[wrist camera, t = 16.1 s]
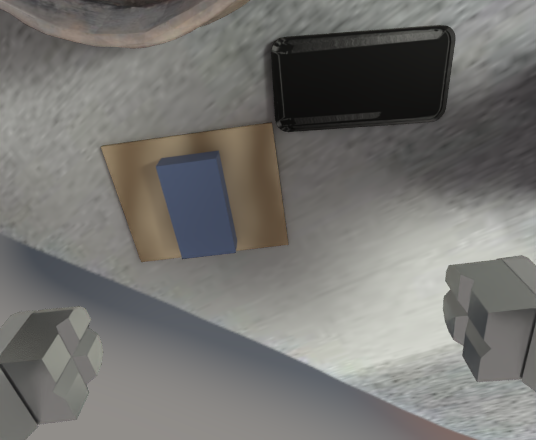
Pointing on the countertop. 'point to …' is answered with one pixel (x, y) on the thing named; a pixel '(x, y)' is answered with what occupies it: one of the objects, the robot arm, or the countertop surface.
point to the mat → (236, 178)
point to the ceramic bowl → (119, 19)
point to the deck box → (198, 204)
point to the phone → (362, 78)
